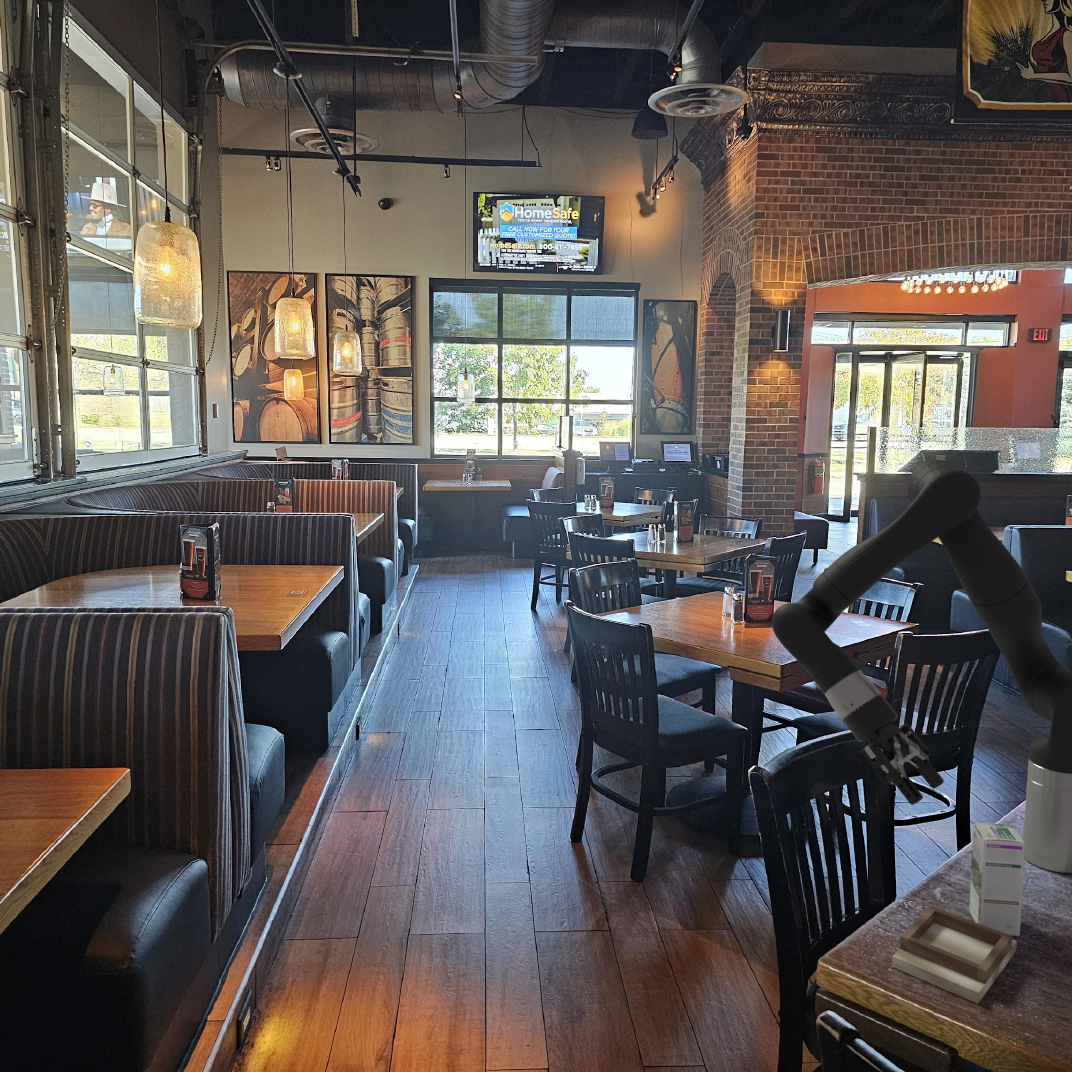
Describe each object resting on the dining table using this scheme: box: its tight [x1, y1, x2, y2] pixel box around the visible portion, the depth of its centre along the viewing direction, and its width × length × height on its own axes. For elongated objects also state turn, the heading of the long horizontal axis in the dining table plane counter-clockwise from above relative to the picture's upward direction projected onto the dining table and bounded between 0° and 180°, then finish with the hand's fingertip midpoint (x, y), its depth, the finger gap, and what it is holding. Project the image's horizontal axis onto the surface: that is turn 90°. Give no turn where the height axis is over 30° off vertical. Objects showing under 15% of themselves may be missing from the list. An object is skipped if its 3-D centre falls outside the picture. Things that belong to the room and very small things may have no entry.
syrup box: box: [968, 822, 1025, 937], centre depth 127 cm, size 6×6×14 cm
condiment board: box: [891, 905, 1018, 1005], centre depth 119 cm, size 16×11×3 cm
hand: (928, 793), depth 133 cm, fingers open, 8 cm apart
